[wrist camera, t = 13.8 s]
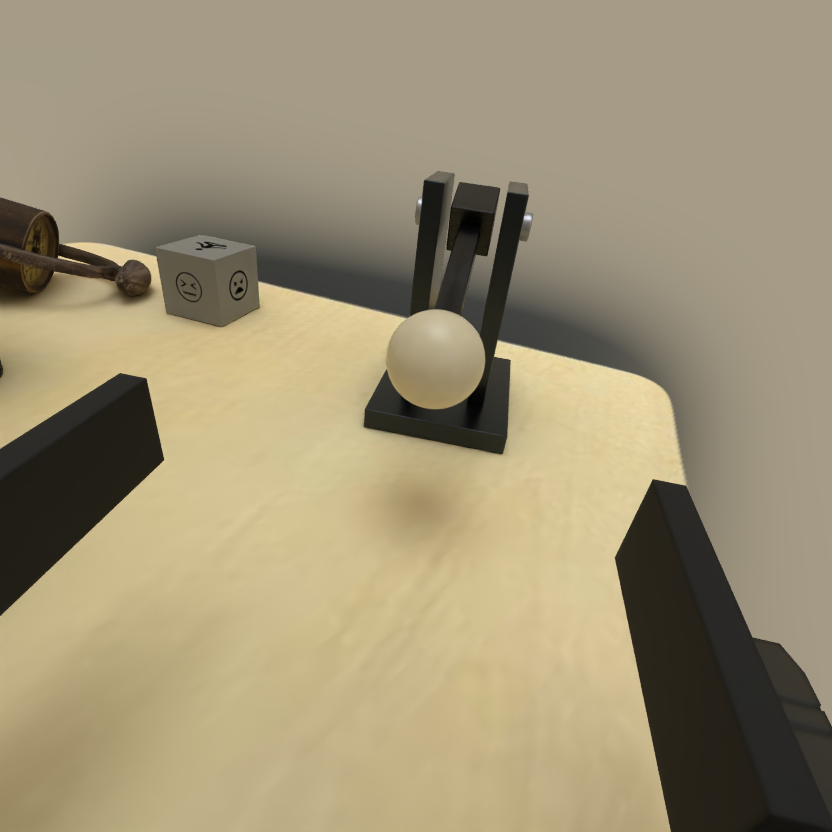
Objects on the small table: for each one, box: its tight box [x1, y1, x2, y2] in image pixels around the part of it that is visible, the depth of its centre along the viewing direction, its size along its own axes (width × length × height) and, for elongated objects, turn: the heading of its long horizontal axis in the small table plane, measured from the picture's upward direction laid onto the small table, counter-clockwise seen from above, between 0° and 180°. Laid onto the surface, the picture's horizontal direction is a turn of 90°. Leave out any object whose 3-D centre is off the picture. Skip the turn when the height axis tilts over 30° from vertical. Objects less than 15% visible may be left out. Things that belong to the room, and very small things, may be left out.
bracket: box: [364, 171, 533, 454], centre depth 28 cm, size 10×8×13 cm
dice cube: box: [155, 235, 260, 327], centre depth 38 cm, size 5×5×5 cm
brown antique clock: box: [0, 198, 151, 296], centre depth 37 cm, size 7×13×10 cm
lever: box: [386, 182, 500, 409], centre depth 22 cm, size 14×4×4 cm, turn 169°
